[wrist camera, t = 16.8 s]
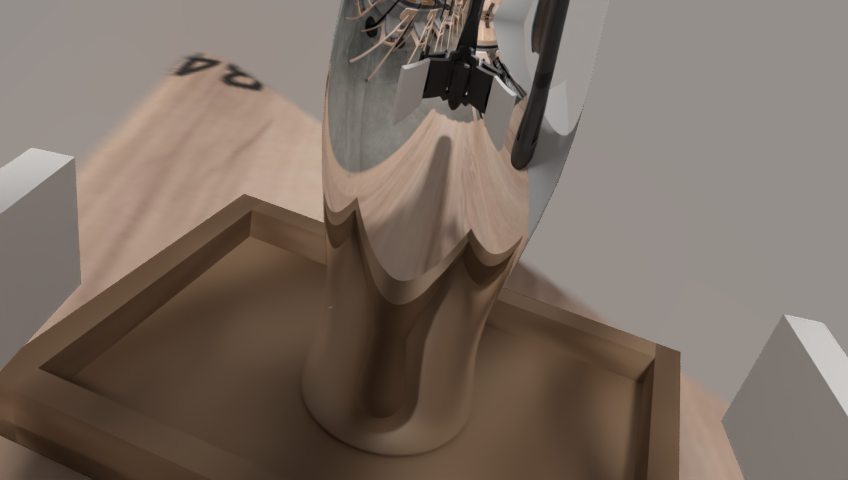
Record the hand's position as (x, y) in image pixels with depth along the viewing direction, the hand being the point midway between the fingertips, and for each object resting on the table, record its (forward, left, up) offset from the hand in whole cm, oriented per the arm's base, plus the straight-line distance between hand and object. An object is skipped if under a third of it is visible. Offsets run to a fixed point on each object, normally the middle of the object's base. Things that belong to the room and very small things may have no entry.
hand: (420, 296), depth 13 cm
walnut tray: (+2, -8, -10) cm, 13 cm away
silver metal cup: (+2, -8, -10) cm, 13 cm away
